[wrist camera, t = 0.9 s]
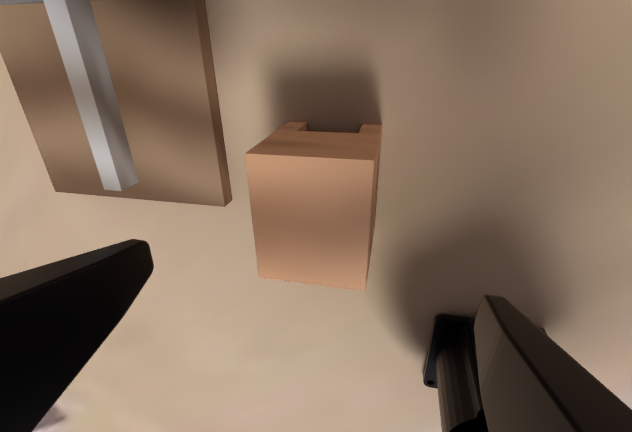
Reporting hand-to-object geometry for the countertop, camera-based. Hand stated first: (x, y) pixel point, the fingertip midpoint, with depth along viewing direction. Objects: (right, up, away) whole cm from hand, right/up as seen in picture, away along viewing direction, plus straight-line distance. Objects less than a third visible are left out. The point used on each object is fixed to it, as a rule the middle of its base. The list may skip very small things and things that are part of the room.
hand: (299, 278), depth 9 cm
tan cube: (+1, +4, +10) cm, 11 cm away
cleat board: (-11, +9, +11) cm, 18 cm away
